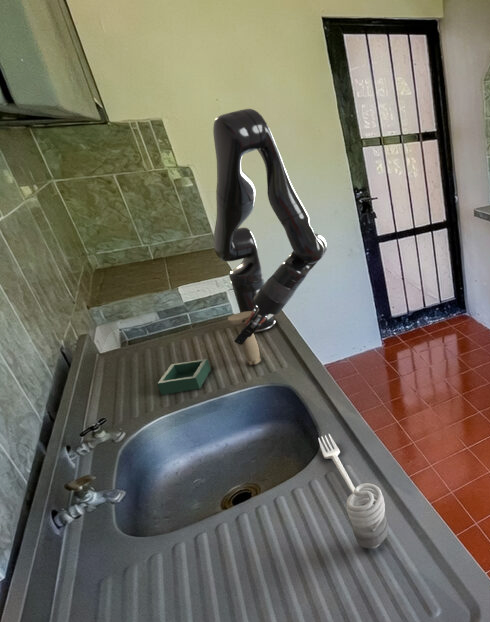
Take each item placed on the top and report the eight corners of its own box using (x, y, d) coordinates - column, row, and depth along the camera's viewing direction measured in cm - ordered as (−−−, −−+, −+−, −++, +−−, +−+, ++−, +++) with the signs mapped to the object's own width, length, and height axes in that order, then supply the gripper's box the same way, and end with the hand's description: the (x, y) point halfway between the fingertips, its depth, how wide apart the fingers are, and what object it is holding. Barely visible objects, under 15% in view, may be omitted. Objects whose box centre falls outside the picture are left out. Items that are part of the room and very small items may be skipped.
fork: (350, 504, 83) (348, 497, 82) (317, 445, 98) (315, 438, 97) (367, 496, 84) (365, 488, 84) (332, 439, 99) (331, 432, 98)
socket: (175, 374, 126) (171, 364, 125) (211, 369, 128) (207, 358, 127) (161, 394, 117) (156, 383, 116) (199, 388, 119) (195, 377, 118)
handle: (268, 362, 131) (255, 315, 124) (244, 370, 127) (229, 322, 121) (264, 355, 134) (251, 309, 128) (240, 363, 131) (226, 316, 124)
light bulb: (398, 545, 75) (388, 491, 70) (368, 567, 71) (355, 512, 66) (379, 524, 79) (369, 472, 73) (350, 545, 75) (337, 492, 70)
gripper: (267, 277, 129) (232, 321, 131) (257, 295, 116) (219, 344, 119) (291, 292, 132) (257, 335, 135) (284, 311, 120) (246, 358, 122)
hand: (239, 339), depth 127 cm, fingers closed on handle, 3 cm apart
